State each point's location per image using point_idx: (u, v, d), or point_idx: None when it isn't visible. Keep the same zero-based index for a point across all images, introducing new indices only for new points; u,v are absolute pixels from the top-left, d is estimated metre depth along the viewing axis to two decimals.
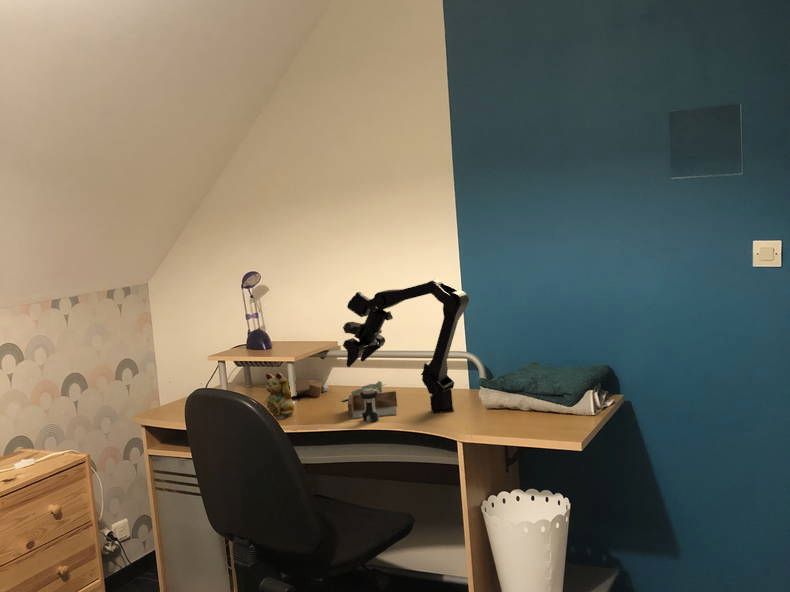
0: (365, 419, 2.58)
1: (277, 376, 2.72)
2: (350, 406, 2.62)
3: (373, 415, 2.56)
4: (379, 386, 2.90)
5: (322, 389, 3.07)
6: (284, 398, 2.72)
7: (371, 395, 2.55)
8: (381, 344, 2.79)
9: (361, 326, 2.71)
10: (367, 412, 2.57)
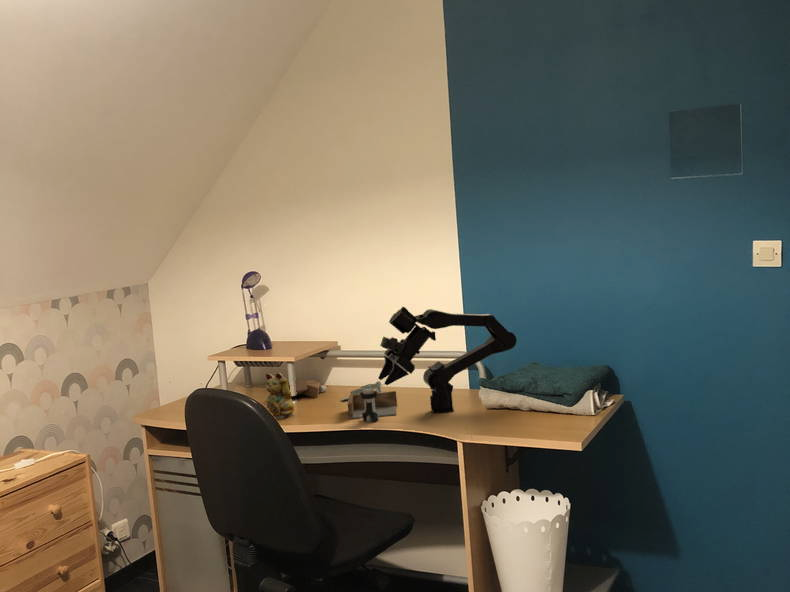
0: (365, 419, 2.58)
1: (277, 376, 2.72)
2: (350, 406, 2.62)
3: (373, 415, 2.56)
4: (378, 386, 2.91)
5: (320, 389, 3.07)
6: (284, 398, 2.72)
7: (371, 395, 2.55)
8: None
9: (405, 343, 2.57)
10: (367, 412, 2.57)
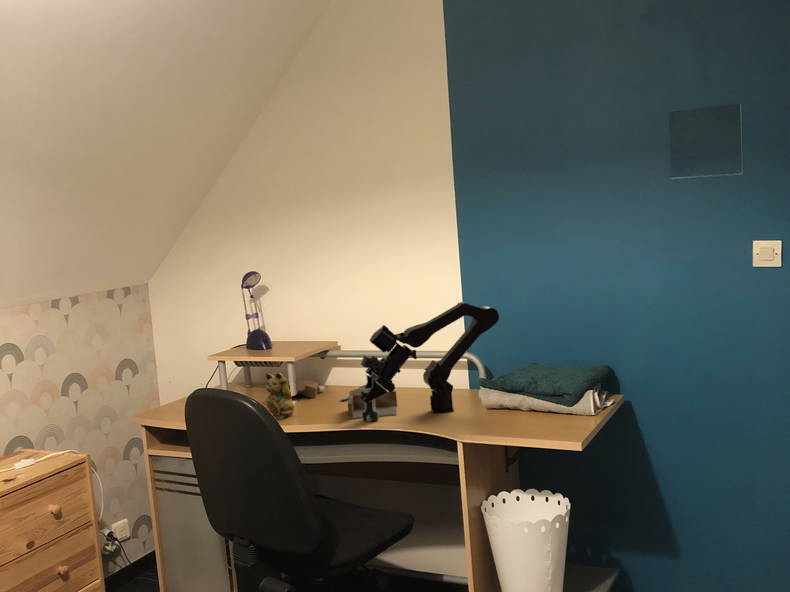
0: (365, 419, 2.58)
1: (277, 376, 2.72)
2: (350, 406, 2.62)
3: (373, 414, 2.56)
4: None
5: (318, 390, 3.06)
6: (284, 398, 2.72)
7: None
8: None
9: (386, 362, 2.56)
10: (367, 411, 2.57)
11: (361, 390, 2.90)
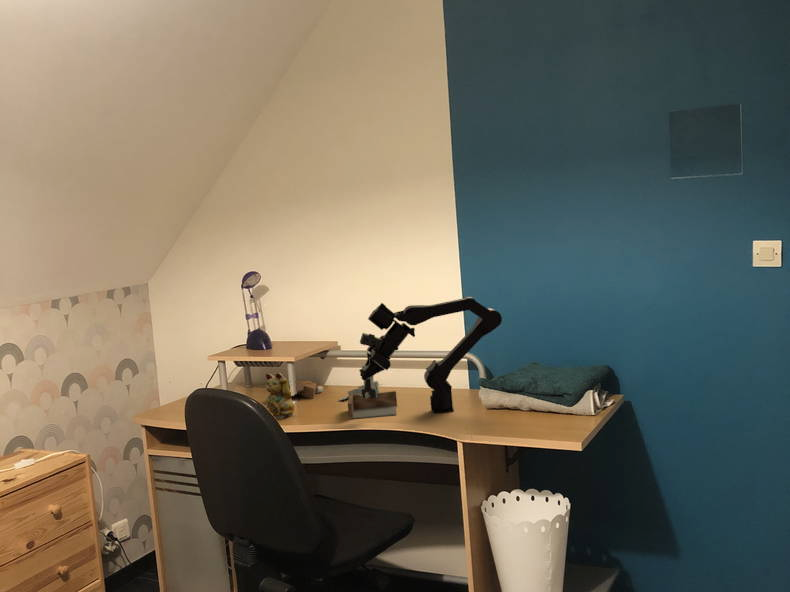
0: (364, 396, 2.61)
1: (277, 376, 2.72)
2: (350, 406, 2.62)
3: (371, 391, 2.58)
4: (376, 386, 2.91)
5: (316, 390, 3.06)
6: (284, 398, 2.72)
7: None
8: None
9: (383, 339, 2.57)
10: (365, 388, 2.59)
11: (360, 390, 2.90)
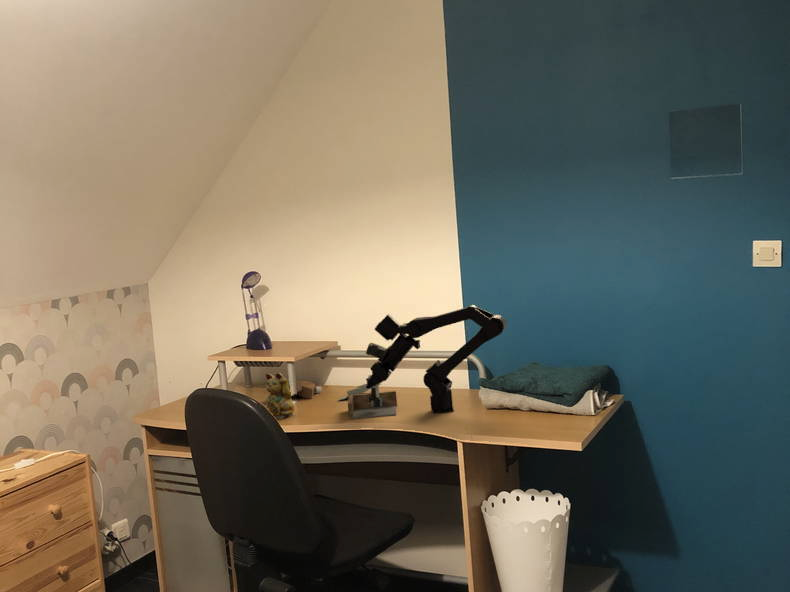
0: (370, 404, 2.68)
1: (277, 376, 2.72)
2: (350, 406, 2.62)
3: (375, 400, 2.65)
4: None
5: (315, 390, 3.06)
6: (284, 398, 2.72)
7: None
8: (394, 369, 2.73)
9: (387, 350, 2.63)
10: (371, 397, 2.67)
11: (359, 390, 2.90)
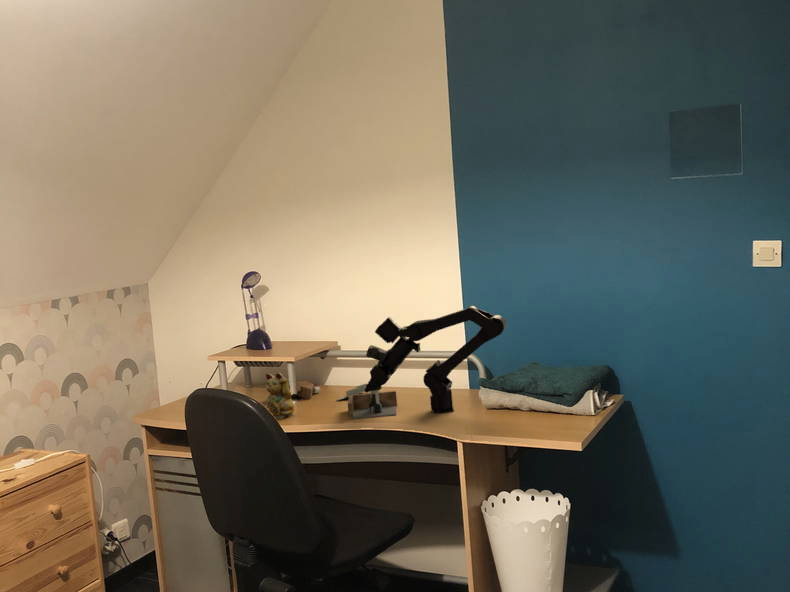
0: (371, 409, 2.68)
1: (277, 376, 2.72)
2: (350, 406, 2.62)
3: (375, 406, 2.65)
4: None
5: (314, 391, 3.05)
6: (284, 398, 2.72)
7: None
8: None
9: (387, 353, 2.63)
10: (371, 403, 2.67)
11: (358, 390, 2.90)
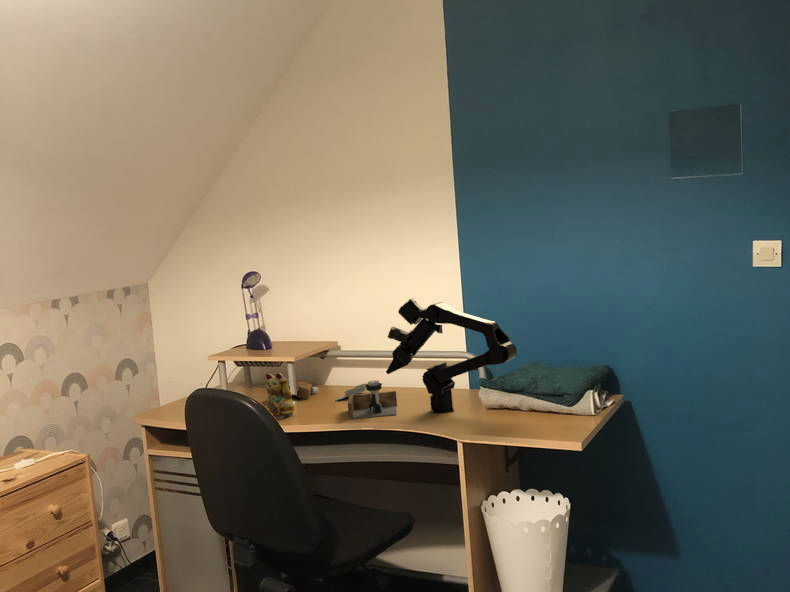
0: (371, 409, 2.68)
1: (277, 376, 2.72)
2: (350, 406, 2.62)
3: (375, 406, 2.65)
4: None
5: (312, 391, 3.05)
6: (284, 398, 2.72)
7: (373, 387, 2.64)
8: None
9: (409, 334, 2.61)
10: (371, 403, 2.67)
11: (357, 390, 2.91)
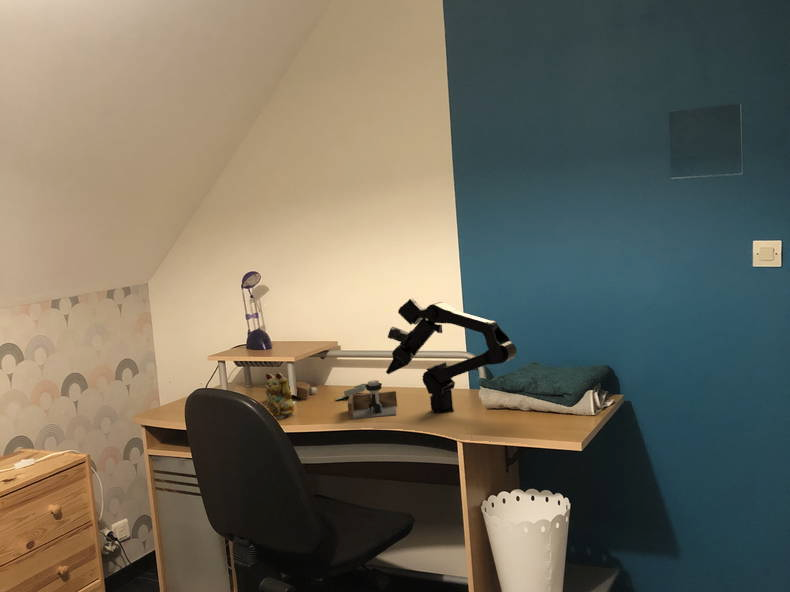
0: (371, 409, 2.68)
1: (277, 376, 2.72)
2: (350, 406, 2.62)
3: (375, 406, 2.65)
4: None
5: (310, 391, 3.05)
6: (284, 398, 2.72)
7: (373, 387, 2.64)
8: (415, 354, 2.71)
9: (409, 334, 2.62)
10: (371, 403, 2.67)
11: (356, 390, 2.91)
